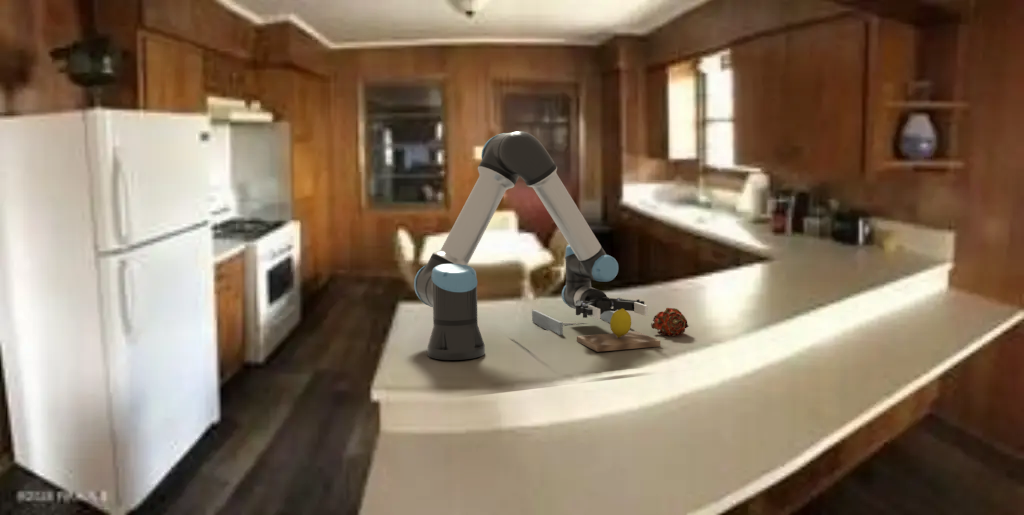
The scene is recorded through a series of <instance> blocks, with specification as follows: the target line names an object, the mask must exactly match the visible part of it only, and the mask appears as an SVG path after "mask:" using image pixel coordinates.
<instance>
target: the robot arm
mask: <svg viewBox="0 0 1024 515" xmlns="http://www.w3.org/2000/svg"><path fill="white" fill-rule="evenodd" d="M480 158H481V160H480V163H479V165H478V167H477V171H478V174H479V175H478V178H477V180H476V182H475V184H474V186H473V188H472V190H471V191H470V194H469V195H468V198H467V199H466V201H465V202H464V205H463V207H462V209H461V210H460V212H459V214H458V216H457V218H456V220H455V222H454V224H453V225H452V228H451V229H450V231H449V233H448V234H447V237H446V238H445V241H444V243H443V245H442V246H441V249H440V250H438V251H435V252H433V253H432V254H431V256H430V258H429V260H428V261H427V263H426V265H423V266H422V267H421V268H420V269H419V270H418V271H417V273H416V275H415V277H414V279H413V287H414V291H415V292H414V293H415V294H416V296H417V297H418V299H419V300H420V301H421V302H422V303H423V304H425V305H426V306H428V307H431V308H432V315H433V316H432V318H433V319H432V320H433V325H432V330H431V334H430V338H429V341H428V343H427V357H429V358H432V359H435V360H444V361H459V360H460V361H462V360H463V361H464V360H471V359H476V358H480V357H482V356H484V355H485V353H486V346H485V342H484V340H483V337H482V334H481V330H480V328H479V325H478V278H477V271H476V269H475V268H473V267H472V266H470V265H469V263H470V260H471V259H472V258H473V255H474V253H475V252H476V249H477V247H478V246H479V243H480V241H481V240H482V238H483V236H484V234H485V231H487V228H488V226H489V224H490V222H491V220H492V218H493V216H494V214H495V213H496V210H497V209H498V207H499V205H500V203H501V201H502V199H503V197H504V195H505V194H506V191H507V190H509V189H510V190H511V189H512V188H514V187H515V186H516V184H517V182H518V180H519V178H521V179H522V180H523V181H524V183H525V185H526V186H527V187H528V188H532V189H533V190H534V191H535V193H536V194H535V195H537V197H538V198H539V199H540V200H539V201H541V202H542V204H543V206H544V208H545V209H546V211H547V213H548V214H549V215H550V217H551V218H552V220H553V222H554V223H555V225H556V226H557V228H558V230H559V232H560V233H561V234H562V236H563V237H564V239H565V240H566V243H567V244H568V245H566V247H565V256H564V260H565V285H564V286H563V288H562V290H561V299H562V300H563V302H564V304H566V305H567V306H569V307H570V308H571V309H574V310H575V315H576V316H581V314H582V318H583V319H587V318H588V317H590V318H593V319H595V320H601V319H600V315H601V314H602V313H604V312H605V311H614V312H616V311H617V310H621V309H624V310H625V311H627V312H628V311H629V312H634V314H639V315H642V316H644V317H647V316H649V315H648V313H649V312H648V308H649V307H648V305H647V304H645V301H644V300H640V299H635V300H633V299H627V298H621V297H617V298H613V297H608V296H607V294H606V293H605V292H604V291H602V290H601V289H598V288H594V287H592V281H596V282H605V283H606V282H607V283H608V282H611V281H613V280H615V278H616V276H617V275H618V273H619V263H618V261H617V260H616V258H615V257H613V256H611V255H609V254H607V253H606V251H605V250H604V248H603V247H602V245H601V243H600V242H599V240H598V238H597V237H596V235H595V233H594V232H593V231H592V229H591V227H590V226H589V224H588V222H587V220H586V219H585V217H584V216H583V214H582V213H581V211H580V209H579V207H578V206H577V204H576V202H575V201H574V199H573V198H572V196H571V194H570V193H569V191H568V190H567V188H566V186H565V185H564V183H563V182H562V180H561V178H560V177H559V175H558V173H557V170H558V166H557V164H556V162H554V160H553V158H552V157H551V155H550V153H549V152H548V151H547V149H546V147H544V145H543V144H542V142H541V141H540V140H539V139H538V138H537V137H535V136H534V135H533V134H532V133H529V132H526V131H521V130H519V131H513V132H503V133H502V132H501V133H499V134H496V135H495V136H492V137H491V138H490V139H488V140H487V141H486V142H485V143H484V145H483V148H482V150H481V157H480Z"/></svg>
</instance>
